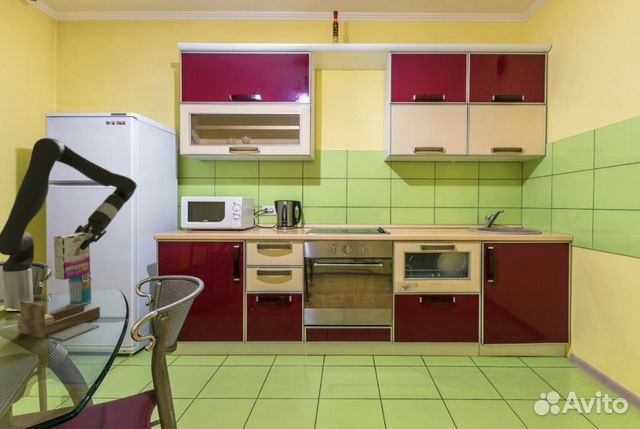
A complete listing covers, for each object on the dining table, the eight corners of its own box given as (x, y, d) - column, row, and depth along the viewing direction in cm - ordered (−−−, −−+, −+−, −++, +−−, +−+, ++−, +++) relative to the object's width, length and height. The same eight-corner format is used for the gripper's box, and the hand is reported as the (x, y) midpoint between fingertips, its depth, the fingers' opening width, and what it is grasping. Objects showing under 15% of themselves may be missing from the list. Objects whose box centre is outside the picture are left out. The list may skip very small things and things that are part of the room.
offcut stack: (31, 333, 124) (31, 318, 124) (46, 327, 129) (46, 313, 128) (41, 335, 122) (41, 321, 122) (56, 330, 127) (56, 316, 127)
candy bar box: (80, 271, 141) (80, 232, 139) (90, 272, 139) (90, 233, 138) (53, 278, 130) (52, 236, 128) (64, 280, 129) (63, 237, 127)
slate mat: (48, 337, 121) (48, 335, 121) (83, 323, 134) (83, 322, 134) (64, 341, 119) (64, 339, 119) (99, 326, 131) (98, 325, 131)
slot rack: (21, 333, 124) (20, 301, 123) (81, 312, 144) (80, 284, 143) (42, 338, 120) (41, 305, 119) (100, 316, 141) (100, 288, 140)
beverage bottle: (68, 307, 150) (66, 262, 148) (70, 301, 157) (69, 258, 155) (91, 304, 154) (89, 260, 152) (92, 298, 161) (91, 256, 160)
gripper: (84, 209, 145) (56, 241, 135) (110, 210, 140) (82, 244, 130) (97, 220, 150) (70, 252, 140) (121, 222, 146) (96, 255, 136)
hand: (76, 248), depth 135 cm, fingers closed on candy bar box, 5 cm apart
